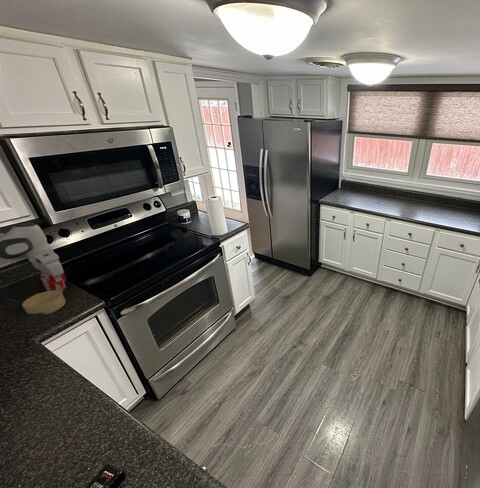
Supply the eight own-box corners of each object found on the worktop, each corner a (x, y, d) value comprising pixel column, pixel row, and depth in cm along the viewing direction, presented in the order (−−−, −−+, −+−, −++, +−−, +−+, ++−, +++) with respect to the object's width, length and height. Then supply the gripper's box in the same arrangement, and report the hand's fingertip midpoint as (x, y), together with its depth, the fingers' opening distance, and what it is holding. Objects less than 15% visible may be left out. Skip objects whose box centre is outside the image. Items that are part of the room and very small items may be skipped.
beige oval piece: (36, 321, 117) (31, 311, 114) (21, 312, 121) (16, 302, 119) (72, 304, 128) (68, 294, 125) (57, 296, 132) (52, 287, 130)
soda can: (66, 293, 135) (56, 273, 130) (47, 297, 132) (36, 277, 126) (68, 286, 140) (59, 267, 135) (50, 290, 137) (40, 270, 131)
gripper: (21, 253, 128) (34, 276, 134) (43, 262, 120) (56, 287, 127) (38, 247, 133) (49, 270, 139) (60, 256, 126) (71, 280, 132)
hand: (53, 278), depth 133 cm, fingers open, 8 cm apart
